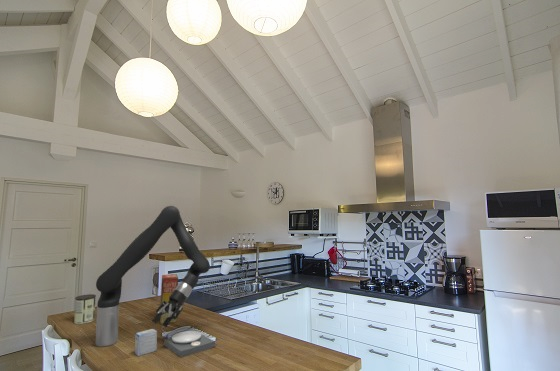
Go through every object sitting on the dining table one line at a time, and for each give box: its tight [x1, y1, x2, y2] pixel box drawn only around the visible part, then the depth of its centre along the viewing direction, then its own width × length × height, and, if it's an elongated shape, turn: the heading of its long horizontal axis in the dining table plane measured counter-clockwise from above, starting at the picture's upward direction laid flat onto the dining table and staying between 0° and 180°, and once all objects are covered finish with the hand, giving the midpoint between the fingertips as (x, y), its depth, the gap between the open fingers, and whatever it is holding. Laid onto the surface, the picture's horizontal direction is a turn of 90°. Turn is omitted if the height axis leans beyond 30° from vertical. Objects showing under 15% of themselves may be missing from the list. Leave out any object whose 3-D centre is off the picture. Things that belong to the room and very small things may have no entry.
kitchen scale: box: [163, 330, 216, 358], centre depth 143 cm, size 18×16×4 cm
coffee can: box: [73, 293, 97, 325], centre depth 183 cm, size 10×10×14 cm
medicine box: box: [134, 328, 158, 357], centre depth 138 cm, size 8×4×9 cm, turn 134°
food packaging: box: [159, 273, 179, 325], centre depth 185 cm, size 13×9×25 cm
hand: (158, 324), depth 143 cm, fingers open, 8 cm apart
